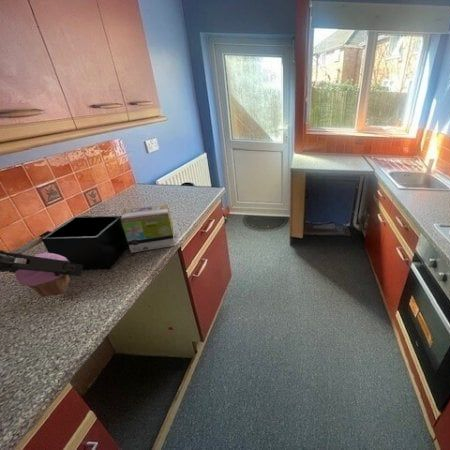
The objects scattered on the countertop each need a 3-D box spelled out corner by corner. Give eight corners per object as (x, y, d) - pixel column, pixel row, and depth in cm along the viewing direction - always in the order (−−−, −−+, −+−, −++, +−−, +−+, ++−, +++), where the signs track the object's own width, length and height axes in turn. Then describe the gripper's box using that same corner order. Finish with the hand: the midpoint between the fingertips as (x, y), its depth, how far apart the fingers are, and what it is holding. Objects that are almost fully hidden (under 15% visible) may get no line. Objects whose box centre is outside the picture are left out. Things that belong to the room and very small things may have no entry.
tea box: (130, 254, 92) (118, 218, 85) (133, 241, 100) (123, 207, 93) (175, 246, 98) (167, 212, 91) (175, 234, 105) (167, 202, 99)
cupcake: (73, 297, 58) (55, 263, 54) (23, 309, 55) (-1, 273, 50) (82, 275, 65) (67, 243, 61) (38, 284, 62) (19, 250, 57)
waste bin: (58, 271, 82) (41, 238, 76) (87, 245, 95) (75, 216, 90) (109, 269, 84) (96, 237, 78) (131, 244, 97) (122, 215, 91)
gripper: (-149, 276, 38) (9, 284, 60) (-2, 279, 39) (101, 286, 61) (-124, 229, 40) (20, 253, 62) (15, 233, 41) (109, 256, 63)
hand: (60, 270), depth 61 cm, fingers closed on cupcake, 9 cm apart
